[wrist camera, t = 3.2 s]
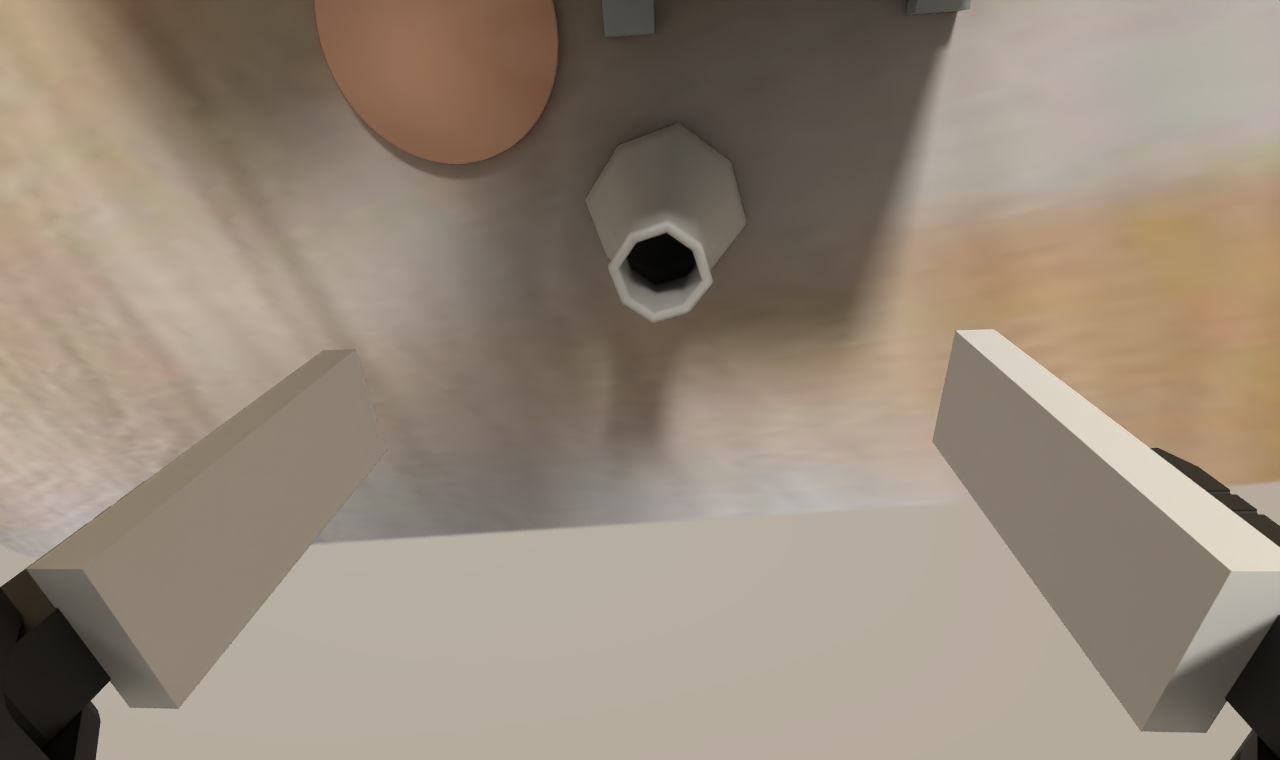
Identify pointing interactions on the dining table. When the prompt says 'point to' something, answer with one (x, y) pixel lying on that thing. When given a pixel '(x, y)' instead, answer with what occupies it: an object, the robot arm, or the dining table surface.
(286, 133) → the dining table surface
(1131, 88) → the dining table surface
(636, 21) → the screen
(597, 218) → the flask
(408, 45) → the coaster
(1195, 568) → the robot arm
